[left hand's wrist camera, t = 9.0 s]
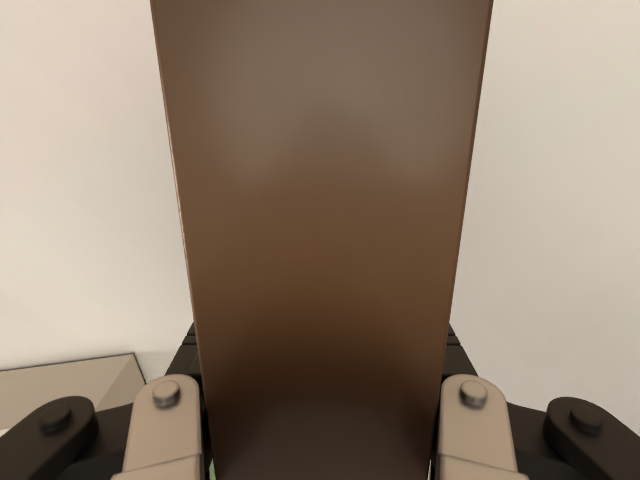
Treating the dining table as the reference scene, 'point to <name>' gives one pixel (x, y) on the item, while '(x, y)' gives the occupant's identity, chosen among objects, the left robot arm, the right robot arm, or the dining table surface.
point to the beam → (321, 220)
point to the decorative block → (69, 386)
